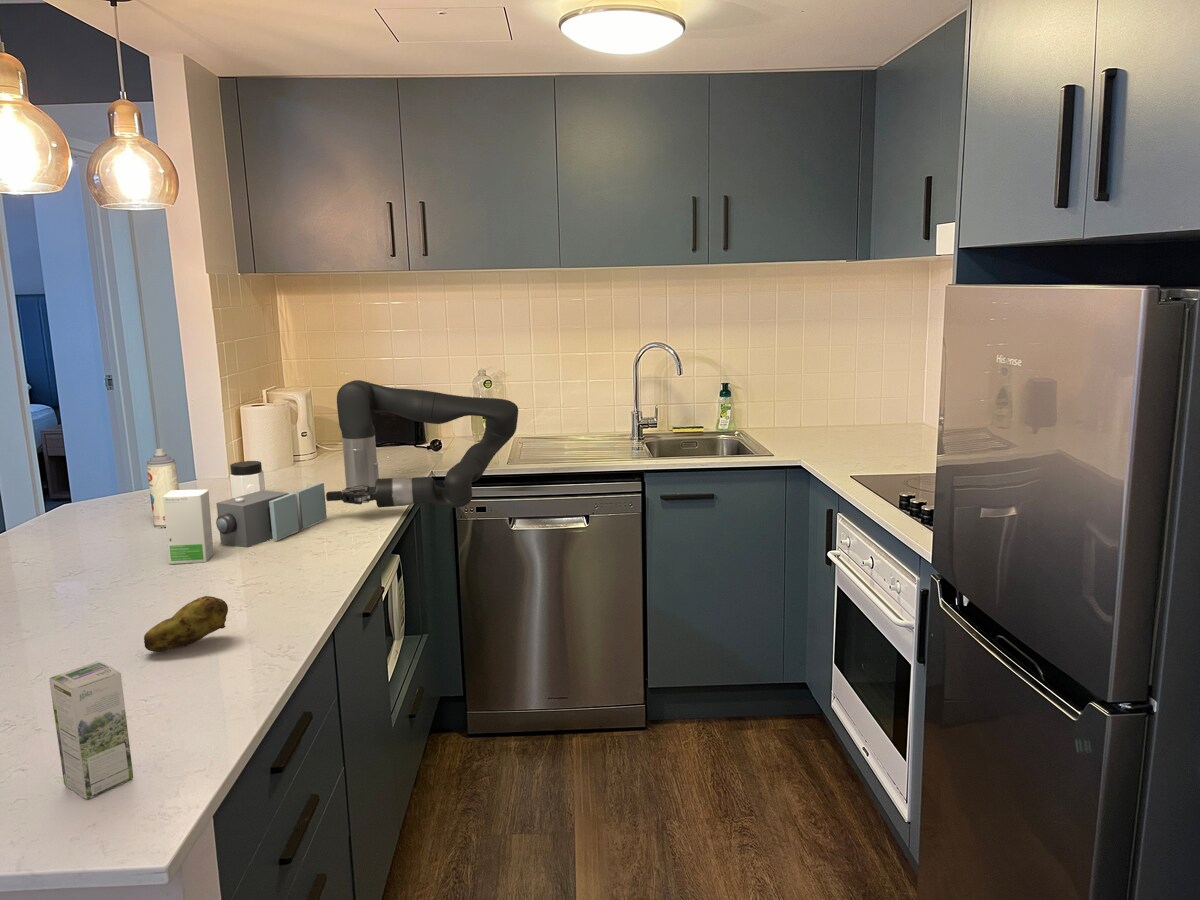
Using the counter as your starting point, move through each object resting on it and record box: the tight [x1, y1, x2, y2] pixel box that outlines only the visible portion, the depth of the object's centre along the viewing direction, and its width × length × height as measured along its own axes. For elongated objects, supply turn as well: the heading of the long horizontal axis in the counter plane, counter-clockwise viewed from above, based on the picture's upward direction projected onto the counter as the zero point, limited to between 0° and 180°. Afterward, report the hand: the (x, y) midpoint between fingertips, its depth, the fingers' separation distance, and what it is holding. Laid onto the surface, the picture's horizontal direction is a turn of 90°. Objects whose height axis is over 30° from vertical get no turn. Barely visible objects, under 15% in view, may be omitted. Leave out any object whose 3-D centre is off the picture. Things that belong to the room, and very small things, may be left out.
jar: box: [229, 460, 266, 499], centre depth 246 cm, size 9×8×12 cm
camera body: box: [215, 489, 290, 548], centre depth 212 cm, size 16×9×11 cm, turn 153°
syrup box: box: [48, 661, 134, 800], centre depth 106 cm, size 6×6×14 cm
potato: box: [143, 595, 229, 653], centre depth 148 cm, size 8×13×8 cm, turn 105°
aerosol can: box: [146, 448, 180, 528], centre depth 227 cm, size 7×7×20 cm
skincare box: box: [163, 489, 214, 565], centre depth 196 cm, size 8×7×16 cm
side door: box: [269, 482, 328, 541], centre depth 218 cm, size 20×1×10 cm, turn 163°
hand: (326, 496), depth 227 cm, fingers closed
